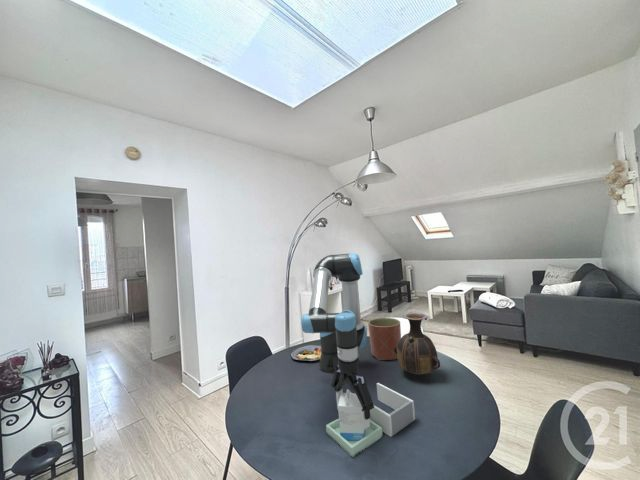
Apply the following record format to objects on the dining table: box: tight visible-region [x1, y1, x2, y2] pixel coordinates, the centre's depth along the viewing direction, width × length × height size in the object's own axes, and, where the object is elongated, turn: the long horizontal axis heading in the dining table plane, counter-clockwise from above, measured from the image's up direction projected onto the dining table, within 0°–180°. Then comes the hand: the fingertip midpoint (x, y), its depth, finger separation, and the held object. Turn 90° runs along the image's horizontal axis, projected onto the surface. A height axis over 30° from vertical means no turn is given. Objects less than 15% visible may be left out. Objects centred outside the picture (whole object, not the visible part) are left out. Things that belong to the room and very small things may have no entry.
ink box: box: [337, 388, 365, 441], centre depth 93 cm, size 9×8×13 cm
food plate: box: [290, 344, 321, 362], centre depth 166 cm, size 25×23×4 cm
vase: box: [394, 312, 441, 375], centre depth 132 cm, size 23×19×30 cm
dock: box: [369, 382, 416, 438], centre depth 102 cm, size 18×14×7 cm
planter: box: [367, 317, 402, 361], centre depth 158 cm, size 19×19×20 cm
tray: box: [325, 417, 384, 458], centre depth 93 cm, size 14×14×3 cm
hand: (352, 417), depth 93 cm, fingers open, 13 cm apart
